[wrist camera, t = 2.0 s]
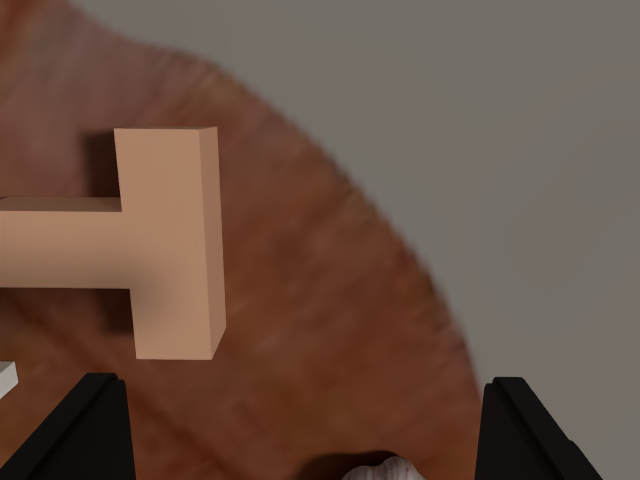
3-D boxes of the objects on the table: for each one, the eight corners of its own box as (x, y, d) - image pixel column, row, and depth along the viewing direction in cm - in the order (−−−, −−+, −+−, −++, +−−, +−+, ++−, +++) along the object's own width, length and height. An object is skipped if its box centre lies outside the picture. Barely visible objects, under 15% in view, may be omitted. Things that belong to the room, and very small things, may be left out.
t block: (226, 327, 30) (211, 359, 26) (31, 324, 30) (-13, 356, 26) (217, 126, 26) (198, 129, 23) (-1, 124, 27) (-56, 127, 23)
